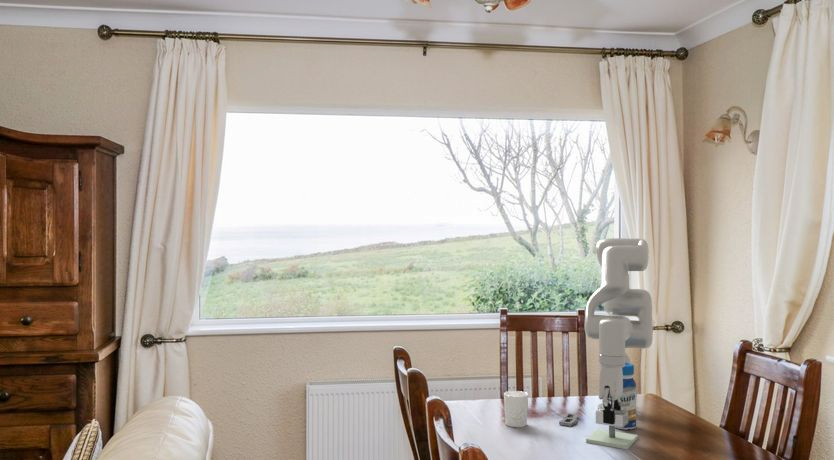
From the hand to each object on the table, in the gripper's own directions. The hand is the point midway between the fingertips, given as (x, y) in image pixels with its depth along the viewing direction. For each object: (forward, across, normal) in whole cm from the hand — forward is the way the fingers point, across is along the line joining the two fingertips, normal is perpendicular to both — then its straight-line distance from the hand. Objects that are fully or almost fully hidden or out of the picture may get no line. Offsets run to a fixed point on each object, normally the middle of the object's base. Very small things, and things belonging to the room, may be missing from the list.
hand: (612, 420), depth 198 cm
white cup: (+6, 0, -31) cm, 32 cm away
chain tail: (+6, -13, -18) cm, 23 cm away
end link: (+1, 0, 0) cm, 1 cm away
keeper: (+6, 0, 0) cm, 6 cm away
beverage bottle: (+6, -16, -1) cm, 17 cm away
